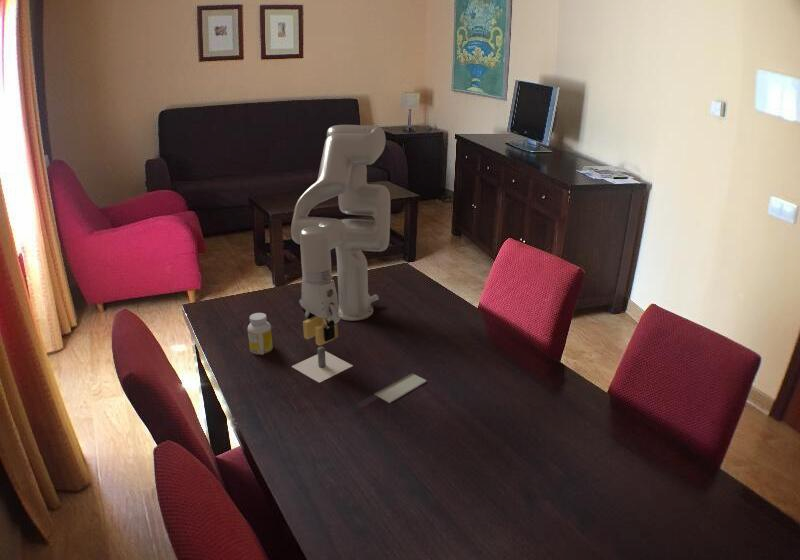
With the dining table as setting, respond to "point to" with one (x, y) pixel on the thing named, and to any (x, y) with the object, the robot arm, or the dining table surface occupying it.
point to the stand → (322, 366)
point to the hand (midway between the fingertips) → (320, 334)
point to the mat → (400, 387)
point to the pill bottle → (259, 334)
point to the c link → (317, 329)
